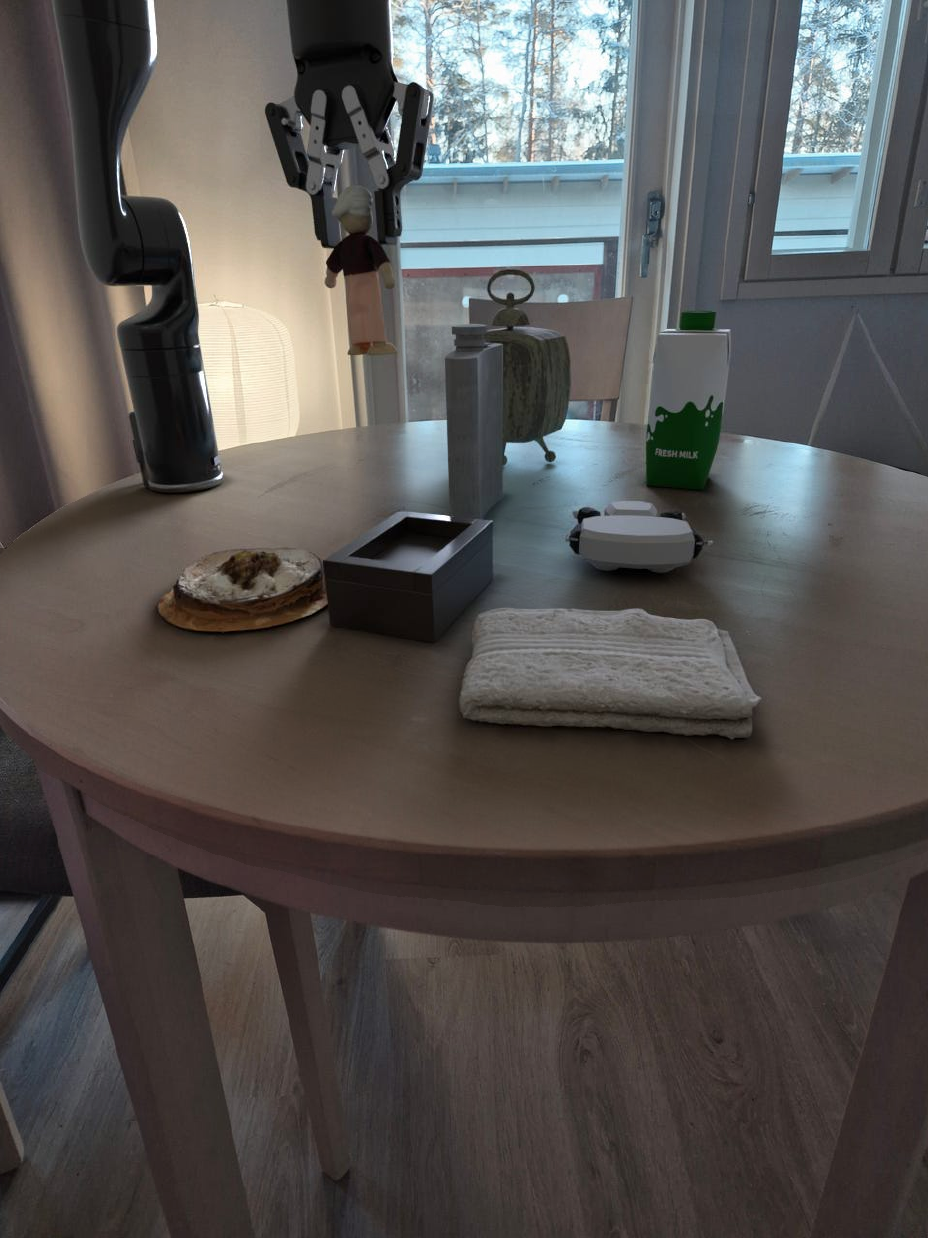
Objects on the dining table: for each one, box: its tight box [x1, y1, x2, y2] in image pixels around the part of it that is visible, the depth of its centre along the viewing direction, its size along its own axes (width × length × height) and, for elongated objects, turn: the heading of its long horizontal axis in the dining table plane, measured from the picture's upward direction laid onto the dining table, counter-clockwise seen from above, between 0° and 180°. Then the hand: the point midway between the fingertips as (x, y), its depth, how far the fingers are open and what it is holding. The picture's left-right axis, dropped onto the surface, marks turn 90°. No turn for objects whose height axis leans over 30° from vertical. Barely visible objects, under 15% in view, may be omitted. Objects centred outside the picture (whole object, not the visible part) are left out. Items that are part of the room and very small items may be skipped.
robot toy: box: [565, 500, 714, 574], centre depth 67 cm, size 12×4×15 cm
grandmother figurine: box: [324, 185, 399, 356], centre depth 60 cm, size 8×4×13 cm, turn 65°
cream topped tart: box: [157, 546, 328, 632], centre depth 61 cm, size 15×15×4 cm
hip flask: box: [444, 323, 504, 520], centre depth 77 cm, size 16×4×20 cm, turn 167°
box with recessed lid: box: [322, 510, 494, 644], centre depth 59 cm, size 9×13×6 cm
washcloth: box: [458, 607, 763, 740], centre depth 47 cm, size 12×18×3 cm, turn 84°
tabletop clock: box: [483, 268, 572, 467], centre depth 97 cm, size 14×9×25 cm, turn 58°
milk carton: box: [645, 310, 732, 491], centre depth 88 cm, size 9×9×20 cm
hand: (359, 245), depth 59 cm, fingers closed on grandmother figurine, 4 cm apart
